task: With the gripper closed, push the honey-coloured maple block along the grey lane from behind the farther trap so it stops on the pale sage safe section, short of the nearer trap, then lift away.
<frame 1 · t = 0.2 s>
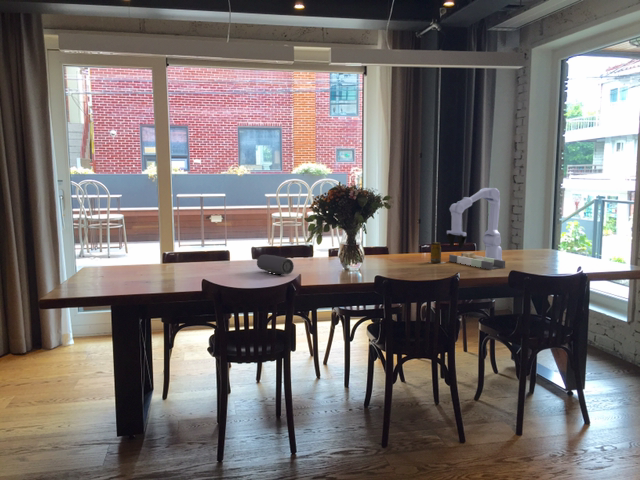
hand: (456, 247, 316), 10 cm above the table, tool pointing down, fingers open, 7 cm apart
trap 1: (460, 261, 327), on the table
bluetooth speaker: (275, 274, 296), on the table
trap box: (476, 264, 315), on the table
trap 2: (493, 267, 304), on the table
maple block: (468, 259, 321), point 2 cm above the table, touching trap box
condiment: (436, 263, 324), on the table
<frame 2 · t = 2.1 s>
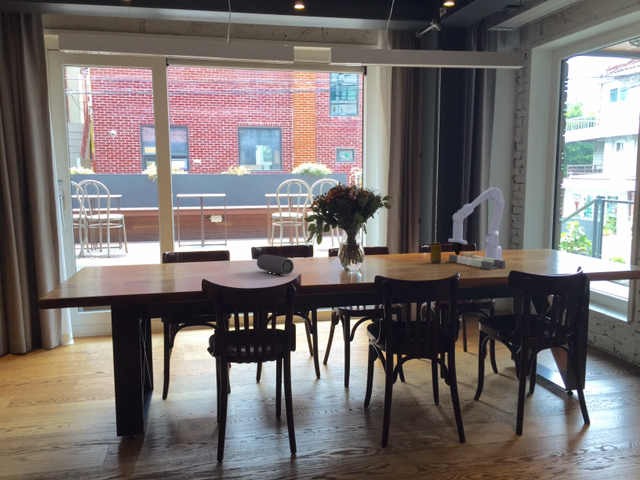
hand: (457, 254, 329), 4 cm above the table, tool pointing down, fingers closed
nothing on the table moved.
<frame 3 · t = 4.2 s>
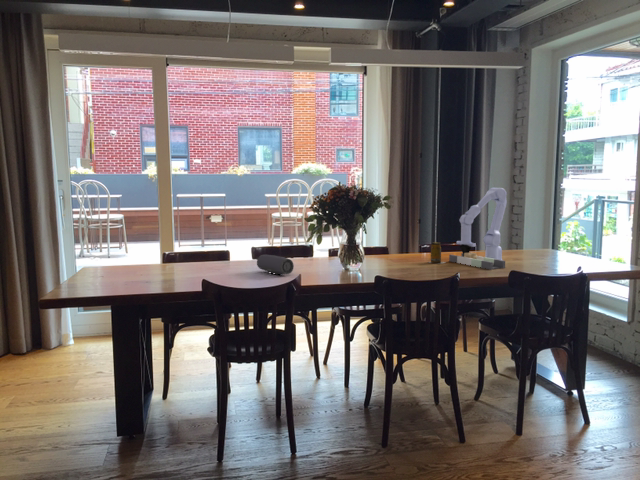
hand: (465, 257, 323), 3 cm above the table, tool pointing down, fingers closed
maple block: (470, 259, 319), point 2 cm above the table, touching gripper, trap box
everything else where it was.
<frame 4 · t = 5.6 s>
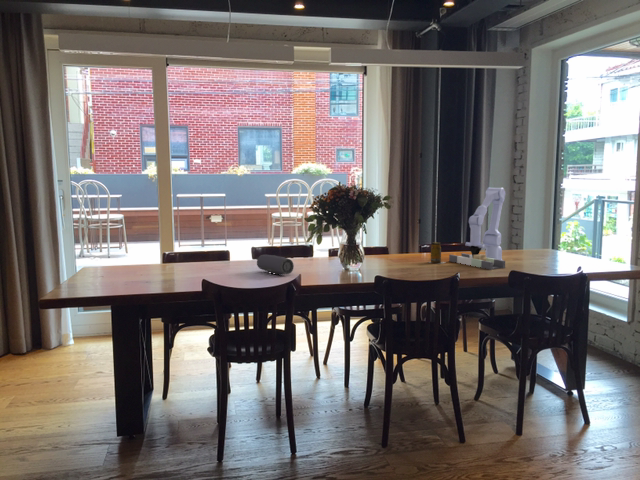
hand: (475, 259, 316), 3 cm above the table, tool pointing down, fingers closed
maple block: (479, 261, 312), point 2 cm above the table, touching gripper
everything else where it was.
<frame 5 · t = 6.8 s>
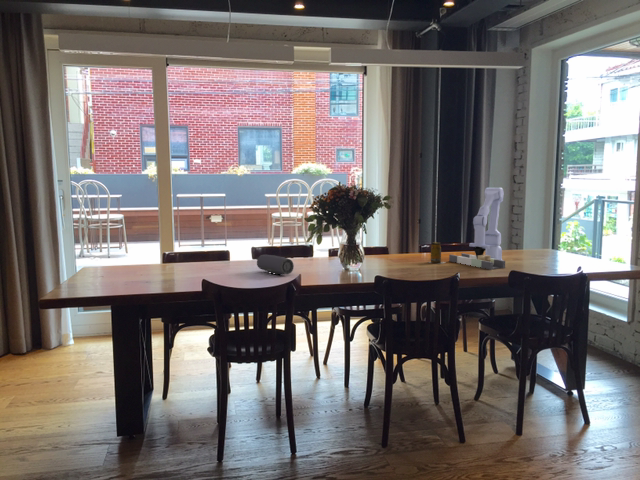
hand: (479, 260, 313), 3 cm above the table, tool pointing down, fingers closed
maple block: (483, 262, 309), point 2 cm above the table, touching gripper, trap box
everything else where it was.
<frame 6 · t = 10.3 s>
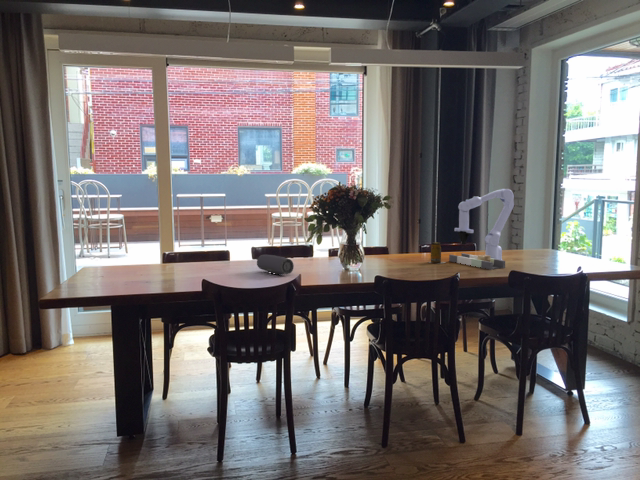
hand: (463, 244, 327), 10 cm above the table, tool pointing down, fingers closed
maple block: (483, 262, 309), point 2 cm above the table, touching trap box
everything else where it was.
at the end: maple block 0.5 cm from the target spot on the trap box, point 2.0 cm above the trap box's base; maple block tilted 0°; maple block touching trap box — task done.
